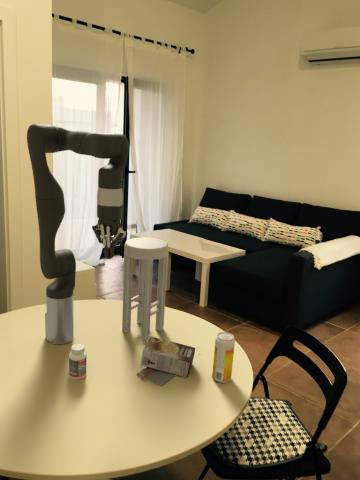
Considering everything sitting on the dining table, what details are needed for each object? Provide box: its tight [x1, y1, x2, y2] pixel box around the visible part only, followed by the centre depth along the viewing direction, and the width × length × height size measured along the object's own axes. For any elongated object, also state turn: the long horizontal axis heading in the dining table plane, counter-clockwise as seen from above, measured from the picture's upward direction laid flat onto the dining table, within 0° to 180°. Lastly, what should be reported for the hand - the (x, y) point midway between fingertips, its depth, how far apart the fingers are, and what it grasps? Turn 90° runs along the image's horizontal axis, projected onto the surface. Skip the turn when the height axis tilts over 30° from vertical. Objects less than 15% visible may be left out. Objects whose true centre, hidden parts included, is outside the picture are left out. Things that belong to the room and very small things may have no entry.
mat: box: [136, 366, 177, 387], centre depth 145 cm, size 10×12×1 cm
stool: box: [121, 236, 169, 341], centre depth 168 cm, size 16×16×35 cm
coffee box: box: [140, 335, 196, 378], centre depth 147 cm, size 9×6×16 cm
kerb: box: [140, 368, 157, 381], centre depth 146 cm, size 1×14×1 cm, turn 146°
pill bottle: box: [68, 343, 87, 380], centre depth 140 cm, size 5×5×10 cm
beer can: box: [211, 331, 236, 384], centre depth 142 cm, size 6×6×15 cm
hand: (108, 258), depth 138 cm, fingers closed
